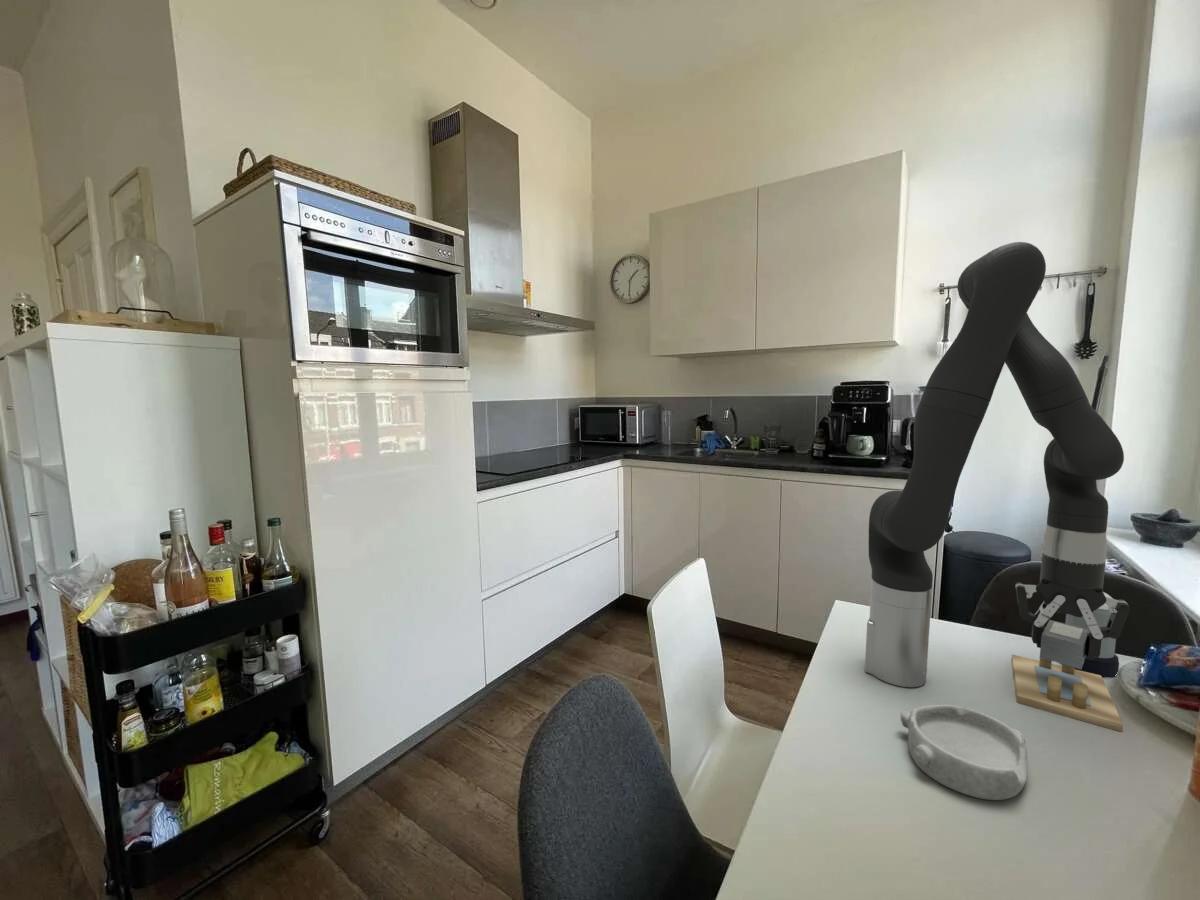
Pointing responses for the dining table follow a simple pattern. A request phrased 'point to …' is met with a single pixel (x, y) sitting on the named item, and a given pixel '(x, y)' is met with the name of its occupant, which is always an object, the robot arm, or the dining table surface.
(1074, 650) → the block
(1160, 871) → the dining table surface
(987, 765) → the dish
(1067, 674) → the wooden peg board
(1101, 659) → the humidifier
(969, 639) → the dining table surface
